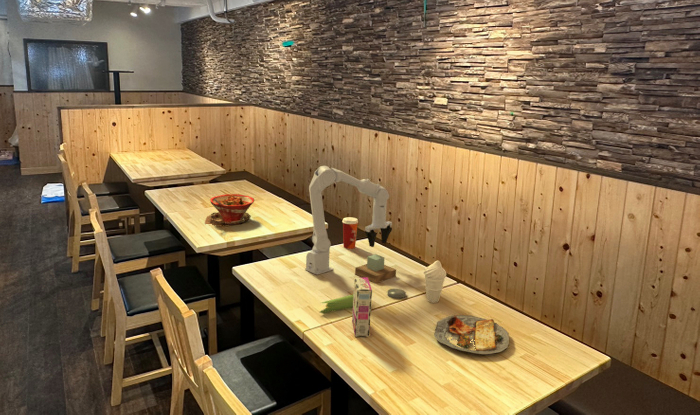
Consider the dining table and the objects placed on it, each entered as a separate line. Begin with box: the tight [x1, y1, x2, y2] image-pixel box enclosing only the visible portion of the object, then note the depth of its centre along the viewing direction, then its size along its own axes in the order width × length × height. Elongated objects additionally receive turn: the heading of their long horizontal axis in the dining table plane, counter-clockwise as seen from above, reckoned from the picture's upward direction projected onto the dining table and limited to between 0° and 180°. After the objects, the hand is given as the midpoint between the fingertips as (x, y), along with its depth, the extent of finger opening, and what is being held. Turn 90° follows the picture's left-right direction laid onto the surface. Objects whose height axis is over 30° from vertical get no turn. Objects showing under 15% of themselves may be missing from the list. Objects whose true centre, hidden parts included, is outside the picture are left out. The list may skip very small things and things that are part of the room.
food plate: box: [433, 314, 510, 355], centre depth 173 cm, size 25×23×4 cm
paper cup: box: [341, 216, 359, 250], centre depth 255 cm, size 8×8×14 cm
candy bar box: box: [351, 276, 373, 338], centre depth 174 cm, size 11×5×16 cm, turn 5°
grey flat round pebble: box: [386, 288, 407, 300], centre depth 204 cm, size 7×7×2 cm
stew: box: [204, 193, 255, 227], centre depth 289 cm, size 28×24×16 cm
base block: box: [354, 263, 397, 284], centre depth 222 cm, size 12×12×3 cm
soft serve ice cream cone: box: [423, 260, 447, 304], centre depth 199 cm, size 8×8×16 cm
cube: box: [366, 253, 385, 272], centre depth 222 cm, size 5×5×5 cm
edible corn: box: [319, 293, 354, 314], centre depth 191 cm, size 5×20×5 cm
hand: (377, 244), depth 231 cm, fingers open, 7 cm apart
